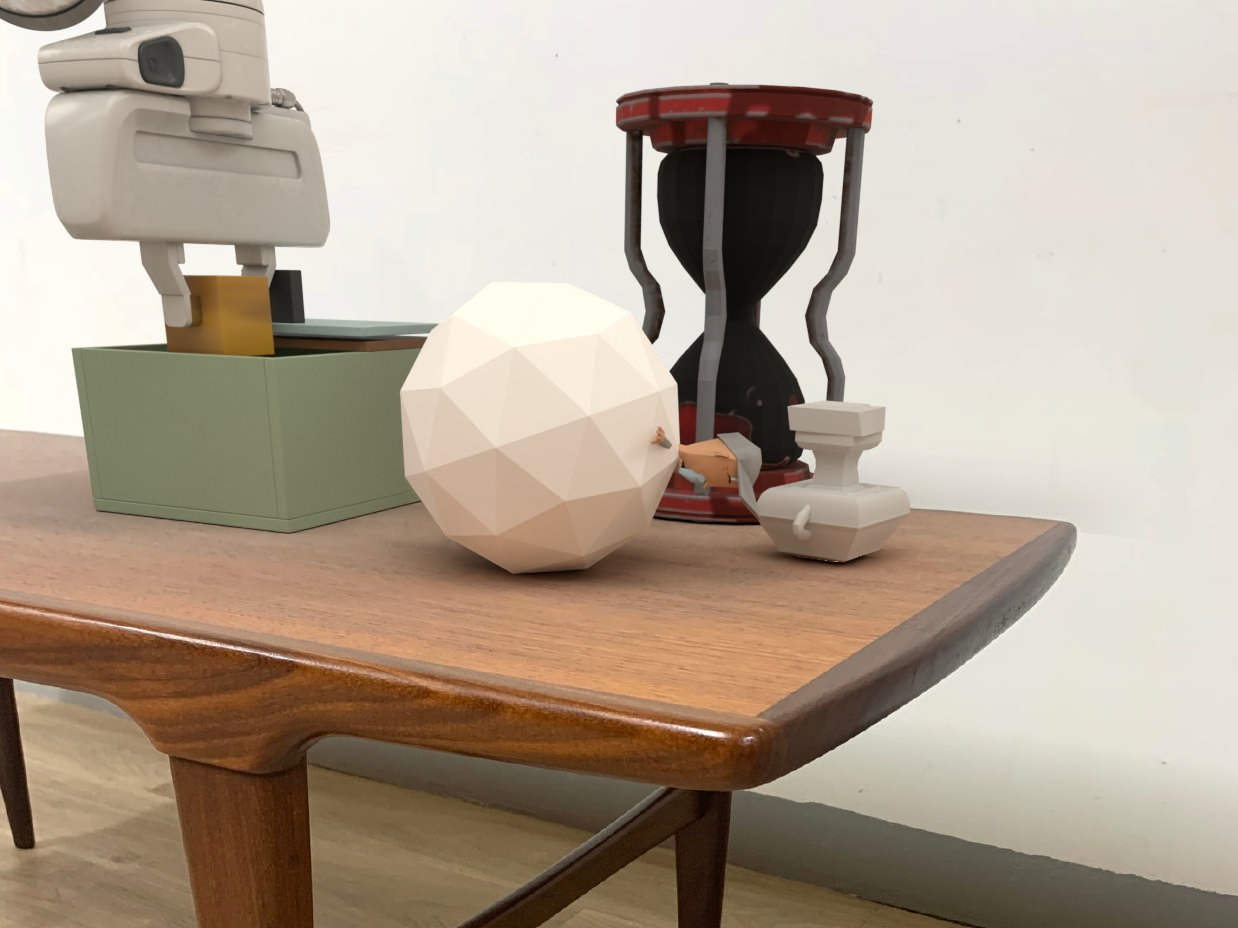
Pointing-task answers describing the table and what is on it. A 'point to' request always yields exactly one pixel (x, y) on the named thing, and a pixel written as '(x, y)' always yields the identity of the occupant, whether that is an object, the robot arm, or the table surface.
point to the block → (227, 317)
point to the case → (248, 430)
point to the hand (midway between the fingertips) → (217, 325)
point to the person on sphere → (550, 429)
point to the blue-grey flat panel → (292, 319)
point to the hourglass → (740, 256)
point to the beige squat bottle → (833, 487)
